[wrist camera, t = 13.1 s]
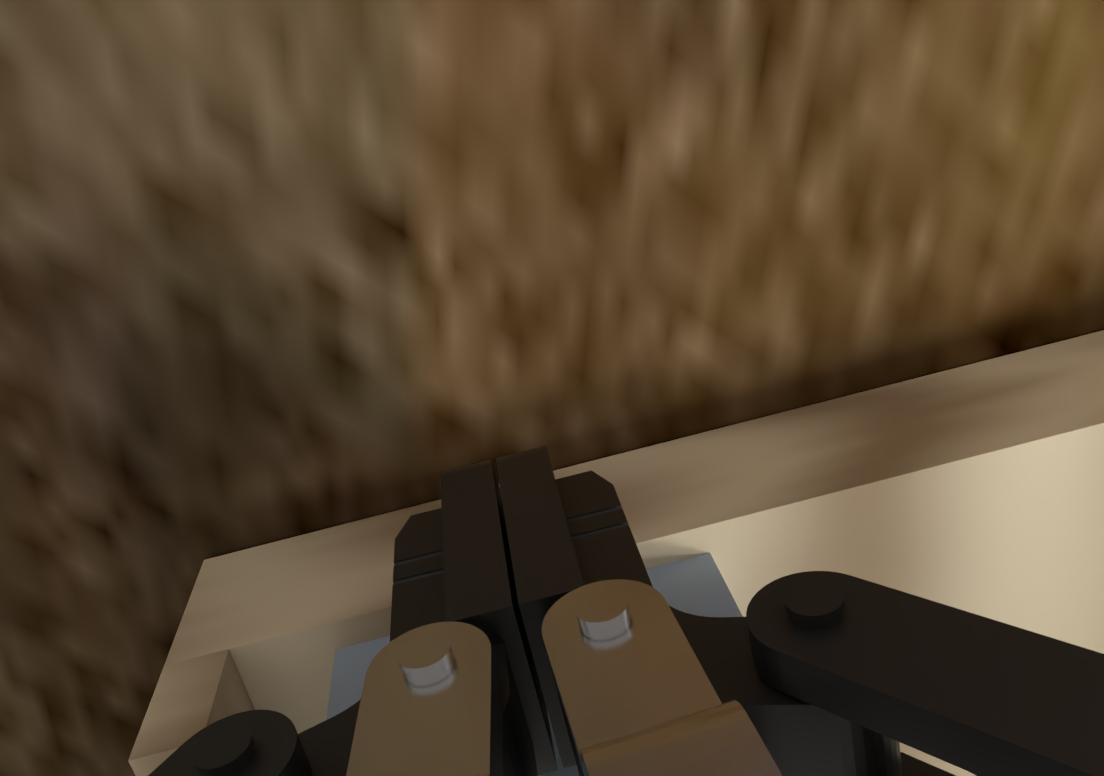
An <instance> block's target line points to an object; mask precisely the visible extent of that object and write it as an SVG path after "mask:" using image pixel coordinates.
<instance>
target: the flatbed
mask: <svg viewBox="0 0 1104 776" xmlns="http://www.w3.org/2000/svg"><path fill="white" fill-rule="evenodd" d="M591 470H592V471H593V472H595V473H596V474H598V475H599V476H601V477H603V478H604V479H606V480H607V481H609V482H610V483H612V484H613V485H614V488H615V490H616V493H617V495H618V498H619V501H620V503H621V507H622V509H623V511H624V514H625V516H626V519H627V521H628V525H629V527H630V529H631V532H632V534H633V537H634V539H635V542H636V545H637V547H638V550H639V552H640V555H641V558H642V560H643V563H644V565H645V568H646V569H649V568H653V567H656V566H660V565H664V564H668V563H672V562H676V561H680V560H683V559H687V558H691V557H695V556H699V555H703V554H707V553H710V554H711V555H712V557H713V559H714V561H715V563H716V565H717V567H718V569H719V571H720V573H721V575H722V577H723V579H724V581H725V583H726V585H727V587H728V589H729V590H730V592H731V594H732V596H733V598H734V600H735V602H736V604H737V606H738V608H739V610H740V612H741V614H742V616H743V617H746V611H747V608H748V604H749V603H750V601H751V599H752V598H753V596H754V595H755V594H756V593H757V592H758V591H759V590H760V589H762V588H763V587H764V586H765V585H767V584H769V583H771V582H772V581H774V580H777V579H779V578H781V577H784V576H787V575H791V574H795V573H800V572H808V571H830V572H838V573H843V574H847V575H851V576H854V577H857V578H860V579H864V580H867V581H870V582H873V583H877V584H880V585H883V586H886V587H889V588H893V589H896V590H899V591H902V592H906V593H909V594H912V595H915V596H918V597H922V598H925V599H928V600H931V601H935V602H938V603H941V604H944V605H948V606H951V607H954V608H957V609H960V610H964V611H967V612H970V613H973V614H977V615H980V616H983V617H986V618H990V619H993V620H996V621H999V622H1002V623H1006V624H1009V625H1012V626H1015V627H1019V628H1022V629H1025V630H1028V631H1031V632H1035V633H1038V634H1041V635H1044V636H1048V637H1051V638H1054V639H1057V640H1061V641H1064V642H1067V643H1070V644H1073V645H1077V646H1080V647H1083V648H1086V649H1090V650H1093V651H1096V652H1099V653H1102V654H1104V330H1102V331H1099V332H1095V333H1091V334H1087V335H1083V336H1079V337H1075V338H1071V339H1067V340H1063V341H1059V342H1055V343H1052V344H1048V345H1044V346H1040V347H1036V348H1032V349H1028V350H1024V351H1020V352H1016V353H1012V354H1008V355H1005V356H1001V357H997V358H993V359H989V360H985V361H981V362H977V363H973V364H969V365H965V366H961V367H958V368H954V369H950V370H946V371H942V372H938V373H934V374H930V375H926V376H922V377H918V378H914V379H911V380H907V381H903V382H899V383H895V384H891V385H887V386H883V387H879V388H875V389H871V390H867V391H864V392H860V393H856V394H852V395H848V396H844V397H840V398H836V399H832V400H828V401H824V402H820V403H817V404H813V405H809V406H805V407H801V408H797V409H793V410H789V411H785V412H781V413H777V414H773V415H769V416H766V417H762V418H758V419H754V420H750V421H746V422H742V423H738V424H734V425H730V426H726V427H722V428H719V429H715V430H711V431H707V432H703V433H699V434H695V435H691V436H687V437H683V438H679V439H675V440H672V441H668V442H664V443H660V444H656V445H652V446H648V447H644V448H640V449H636V450H632V451H628V452H625V453H621V454H617V455H613V456H609V457H605V458H601V459H597V460H593V461H589V462H585V463H581V464H578V465H574V466H570V467H566V468H562V469H558V470H554V471H553V473H554V477H555V479H559V478H563V477H567V476H571V475H575V474H579V473H583V472H587V471H591ZM499 486H500V484H499ZM439 508H442V506H441V499H440V500H436V501H433V502H429V503H425V504H421V505H417V506H413V507H409V508H405V509H401V510H397V511H393V512H389V513H386V514H382V515H378V516H374V517H370V518H366V519H362V520H358V521H354V522H350V523H346V524H342V525H339V526H335V527H331V528H327V529H323V530H319V531H315V532H311V533H307V534H303V535H299V536H295V537H292V538H288V539H284V540H280V541H276V542H272V543H268V544H264V545H260V546H256V547H252V548H248V549H245V550H241V551H237V552H233V553H229V554H225V555H221V556H217V557H213V558H209V559H205V560H204V561H203V564H202V566H201V569H200V572H199V574H198V577H197V580H196V582H195V585H194V588H193V590H192V593H191V595H190V598H189V601H188V603H187V606H186V609H185V611H184V614H183V617H182V619H181V622H180V625H179V627H178V630H177V633H176V635H175V638H174V640H173V643H172V646H171V648H170V651H169V654H168V656H167V659H166V662H165V664H164V667H163V670H162V672H161V675H160V678H159V680H158V683H157V685H156V688H155V691H154V693H153V696H152V699H151V701H150V704H149V707H148V709H147V712H146V715H145V717H144V720H143V722H142V725H141V728H140V730H139V733H138V736H137V738H136V741H135V744H134V746H133V749H132V752H131V754H130V757H129V760H128V762H129V764H130V766H131V768H132V770H133V772H134V774H135V776H148V775H149V774H150V773H152V772H153V771H154V770H155V769H156V768H157V767H158V766H159V765H160V764H161V763H163V762H164V761H165V760H166V759H167V758H168V757H169V756H170V755H171V754H172V753H174V752H175V751H176V750H177V749H178V748H179V747H180V746H181V745H182V744H183V743H185V742H186V741H187V740H188V739H189V738H191V737H192V736H193V735H194V734H196V733H197V732H199V731H200V730H202V729H203V728H205V727H207V726H209V725H210V724H212V723H214V722H216V721H218V720H220V719H223V718H225V717H228V716H231V715H234V714H237V713H241V712H245V711H251V710H271V711H276V712H279V713H281V714H284V715H285V716H287V717H288V718H289V719H290V720H291V721H292V723H293V724H294V725H295V728H296V730H297V733H298V734H299V733H301V732H303V731H305V730H307V729H309V728H311V727H313V726H315V725H317V724H319V723H321V722H323V721H326V718H327V710H328V702H329V694H330V686H331V679H332V671H333V663H334V655H335V650H336V649H340V648H344V647H348V646H352V645H356V644H359V643H363V642H367V641H371V640H375V639H379V638H383V637H386V636H390V626H391V606H392V585H394V584H393V566H395V565H394V545H395V538H396V537H397V535H398V534H399V532H400V531H401V529H402V528H403V526H404V525H405V523H406V522H407V520H408V519H409V517H410V516H411V515H415V514H419V513H423V512H427V511H431V510H435V509H439ZM900 752H903V753H905V754H907V755H910V756H912V757H914V758H917V759H919V760H921V761H924V762H926V763H928V764H931V765H933V766H935V767H937V768H940V769H942V770H944V771H947V772H949V773H951V774H954V775H956V776H976V775H974V774H972V773H970V772H968V771H966V770H964V769H962V768H959V767H957V766H955V765H952V764H950V763H947V762H945V761H943V760H940V759H938V758H936V757H933V756H931V755H929V754H926V753H924V752H922V751H919V750H917V749H915V748H912V747H910V746H907V745H905V744H903V743H900Z"/></svg>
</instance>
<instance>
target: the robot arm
mask: <svg viewBox="0 0 1104 776" xmlns="http://www.w3.org/2000/svg"><path fill="white" fill-rule="evenodd" d="M496 464H497V470H498V477H499V482H498V479H497V475H496V471H495V468H494V465H493V462H492V460H488V461H483V462H479V463H475V464H471V465H467V466H463V467H459V468H455V469H451V470H447V471H443V472H441V473H440V479H441V506H442V508H439V509H435V510H431V511H427V512H423V513H419V514H415V515H411V516H410V517H409V519H408V520H407V522H406V523H405V525H404V526H403V528H402V529H401V531H400V532H399V534H398V535H397V537H396V538H395V545H394V565H395V566H393V584H394V585H392V606H391V626H390V643H388V644H387V645H386V646H385V647H383V648H382V649H381V650H380V651H379V652H378V653H377V655H376V656H375V657H374V658H373V660H372V661H371V663H370V665H369V667H368V669H367V672H366V675H365V680H364V685H363V690H362V695H361V699H360V700H359V701H358V702H356V703H355V704H354V705H352V706H351V707H349V708H348V709H346V710H345V711H343V712H341V713H339V714H337V715H335V716H334V717H332V718H330V719H328V720H326V721H323V722H321V723H319V724H317V725H315V726H313V727H311V728H309V729H307V730H305V731H303V732H301V733H299V734H298V733H297V730H296V728H295V725H294V724H293V723H292V721H291V720H290V719H289V718H288V717H287V716H285V715H284V714H281V713H279V712H276V711H271V710H251V711H245V712H241V713H237V714H234V715H231V716H228V717H225V718H223V719H220V720H218V721H216V722H214V723H212V724H210V725H209V726H207V727H205V728H203V729H202V730H200V731H199V732H197V733H196V734H194V735H193V736H192V737H191V738H189V739H188V740H187V741H186V742H185V743H183V744H182V745H181V746H180V747H179V748H178V749H177V750H176V751H175V752H174V753H172V754H171V755H170V756H169V757H168V758H167V759H166V760H165V761H164V762H163V763H161V764H160V765H159V766H158V767H157V768H156V769H155V770H154V771H153V772H152V773H150V774H149V775H148V776H538V775H542V774H545V773H549V772H553V771H557V770H558V769H557V763H556V758H555V752H554V746H553V740H552V735H551V729H550V723H549V718H550V721H551V725H552V729H553V732H554V736H555V740H556V743H557V747H558V751H559V754H560V758H561V762H562V765H563V769H564V768H567V767H571V766H575V765H577V769H578V773H579V776H956V775H954V774H951V773H949V772H947V771H944V770H942V769H940V768H937V767H935V766H933V765H931V764H928V763H926V762H924V761H921V760H919V759H917V758H914V757H912V756H910V755H907V754H905V753H903V752H900V743H903V744H905V745H907V746H910V747H912V748H915V749H917V750H919V751H922V752H924V753H926V754H929V755H931V756H933V757H936V758H938V759H940V760H943V761H945V762H947V763H950V764H952V765H955V766H957V767H959V768H962V769H964V770H966V771H968V772H970V773H972V774H974V775H976V776H1104V654H1102V653H1099V652H1096V651H1093V650H1090V649H1086V648H1083V647H1080V646H1077V645H1073V644H1070V643H1067V642H1064V641H1061V640H1057V639H1054V638H1051V637H1048V636H1044V635H1041V634H1038V633H1035V632H1031V631H1028V630H1025V629H1022V628H1019V627H1015V626H1012V625H1009V624H1006V623H1002V622H999V621H996V620H993V619H990V618H986V617H983V616H980V615H977V614H973V613H970V612H967V611H964V610H960V609H957V608H954V607H951V606H948V605H944V604H941V603H938V602H935V601H931V600H928V599H925V598H922V597H918V596H915V595H912V594H909V593H906V592H902V591H899V590H896V589H893V588H889V587H886V586H883V585H880V584H877V583H873V582H870V581H867V580H864V579H860V578H857V577H854V576H851V575H847V574H843V573H838V572H830V571H808V572H800V573H795V574H791V575H787V576H784V577H781V578H779V579H777V580H774V581H772V582H771V583H769V584H767V585H765V586H764V587H763V588H762V589H760V590H759V591H758V592H757V593H756V594H755V595H754V596H753V598H752V599H751V601H750V603H749V604H748V608H747V611H746V617H705V616H697V615H693V614H689V613H685V612H682V611H680V610H677V609H675V608H673V607H671V606H669V605H668V603H667V602H666V600H665V598H664V597H663V596H662V594H661V593H660V592H658V591H657V590H656V589H655V588H653V586H652V583H651V581H650V578H649V576H648V573H647V571H646V568H645V565H644V563H643V560H642V558H641V555H640V552H639V550H638V547H637V545H636V542H635V539H634V537H633V534H632V532H631V529H630V527H629V525H628V521H627V519H626V516H625V514H624V511H623V509H622V507H621V503H620V501H619V498H618V495H617V493H616V490H615V488H614V485H613V484H612V483H610V482H609V481H607V480H606V479H604V478H603V477H601V476H599V475H598V474H596V473H595V472H593V471H592V470H591V471H587V472H583V473H579V474H575V475H571V476H567V477H563V478H559V479H555V477H554V473H553V469H552V466H551V462H550V458H549V455H548V451H547V447H546V446H543V447H539V448H535V449H531V450H527V451H523V452H519V453H515V454H511V455H507V456H503V457H499V458H496ZM499 483H500V486H499ZM547 710H548V712H547ZM548 714H549V717H548Z"/></svg>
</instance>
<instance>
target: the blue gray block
mask: <svg viewBox="0 0 1104 776" xmlns="http://www.w3.org/2000/svg"><path fill="white" fill-rule="evenodd" d="M646 571H647V573H648V576H649V578H650V581H651V583H652V586H653V588H655V589H656V590H657V591H658V592H660V593H661V594H662V596H663V597H664V598H665V600H666V602H667V603H668V605H669V606H671V607H673V608H675V609H677V610H680V611H682V612H685V613H689V614H693V615H697V616H705V617H743V616H742V614H741V612H740V610H739V608H738V606H737V604H736V602H735V600H734V598H733V596H732V594H731V592H730V590H729V589H728V587H727V585H726V583H725V581H724V579H723V577H722V575H721V573H720V571H719V569H718V567H717V565H716V563H715V561H714V559H713V557H712V555H711V554H710V553H707V554H703V555H699V556H695V557H691V558H687V559H683V560H680V561H676V562H672V563H668V564H664V565H660V566H656V567H653V568H649V569H646ZM388 643H390V636H386V637H383V638H379V639H375V640H371V641H367V642H363V643H359V644H356V645H352V646H348V647H344V648H340V649H336V650H335V655H334V663H333V671H332V679H331V686H330V694H329V702H328V710H327V718H326V720H328V719H330V718H332V717H334V716H335V715H337V714H339V713H341V712H343V711H345V710H346V709H348V708H349V707H351V706H352V705H354V704H355V703H356V702H358V701H359V700H360V699H361V695H362V690H363V685H364V680H365V675H366V672H367V669H368V667H369V665H370V663H371V661H372V660H373V658H374V657H375V656H376V655H377V653H378V652H379V651H380V650H381V649H382V648H383V647H385V646H386V645H387V644H388ZM547 712H548V710H547ZM548 717H549V714H548ZM549 723H550V729H551V735H552V740H553V746H554V752H555V758H556V763H557V769H558V770H557V771H553V772H549V773H545V774H542V775H538V776H579V773H578V769H577V765H575V766H571V767H567V768H564V769H563V765H562V762H561V758H560V754H559V751H558V747H557V743H556V740H555V736H554V732H553V729H552V725H551V721H550V718H549Z"/></svg>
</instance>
